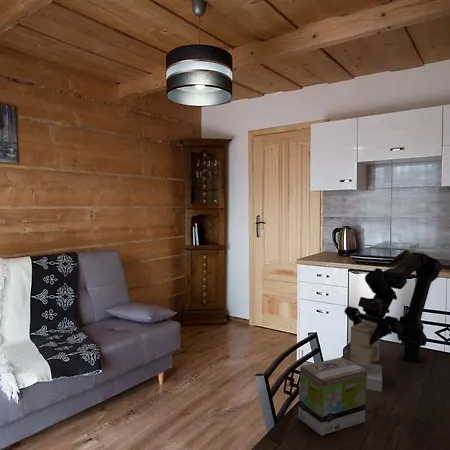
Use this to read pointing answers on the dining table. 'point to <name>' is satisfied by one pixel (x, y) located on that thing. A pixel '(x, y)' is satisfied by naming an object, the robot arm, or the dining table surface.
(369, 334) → the birch block
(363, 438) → the dining table surface
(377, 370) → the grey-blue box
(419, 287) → the robot arm
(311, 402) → the tea box
